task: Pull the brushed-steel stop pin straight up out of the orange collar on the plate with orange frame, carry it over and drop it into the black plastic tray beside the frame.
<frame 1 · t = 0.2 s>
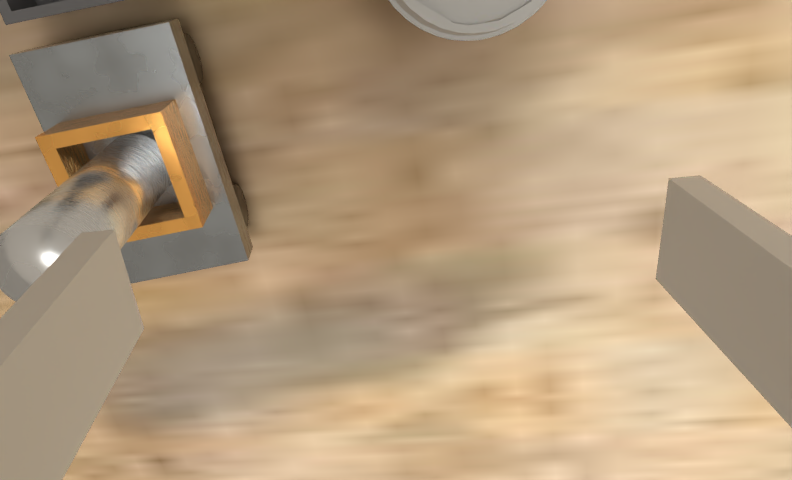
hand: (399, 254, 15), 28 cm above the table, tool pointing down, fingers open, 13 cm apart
plate with orange frame: (162, 142, 41), on the table
stop pin: (139, 166, 37), point 5 cm above the table, touching plate with orange frame
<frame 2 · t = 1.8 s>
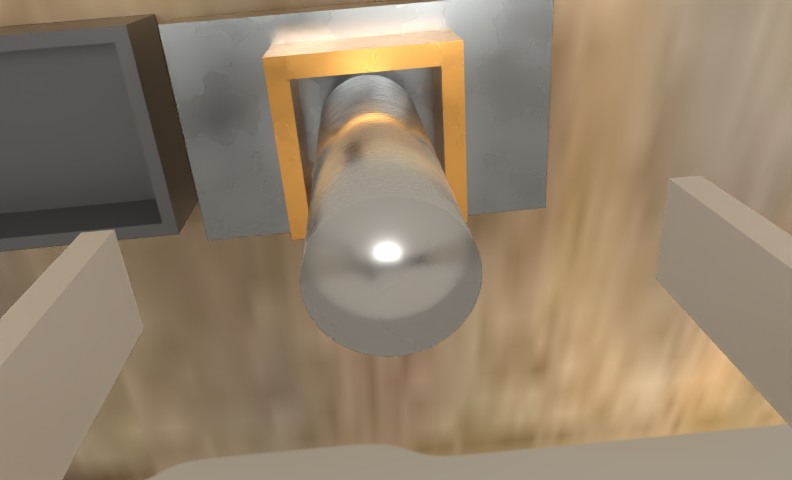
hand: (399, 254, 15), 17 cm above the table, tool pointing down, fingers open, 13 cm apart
pin tray: (7, 129, 29), on the table
plate with orange frame: (365, 96, 30), on the table
stop pin: (369, 124, 25), point 5 cm above the table, touching plate with orange frame
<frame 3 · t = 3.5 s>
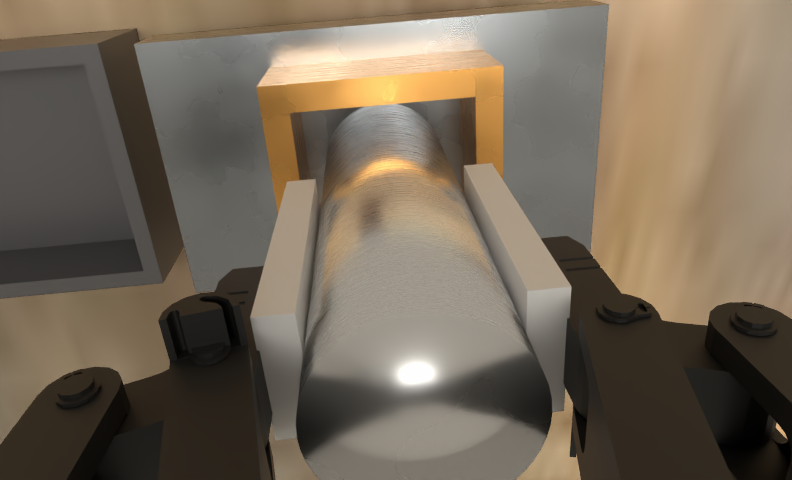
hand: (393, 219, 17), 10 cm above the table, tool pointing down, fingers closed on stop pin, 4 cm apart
plate with orange frame: (379, 122, 26), on the table
stop pin: (384, 160, 21), point 5 cm above the table, touching gripper, plate with orange frame
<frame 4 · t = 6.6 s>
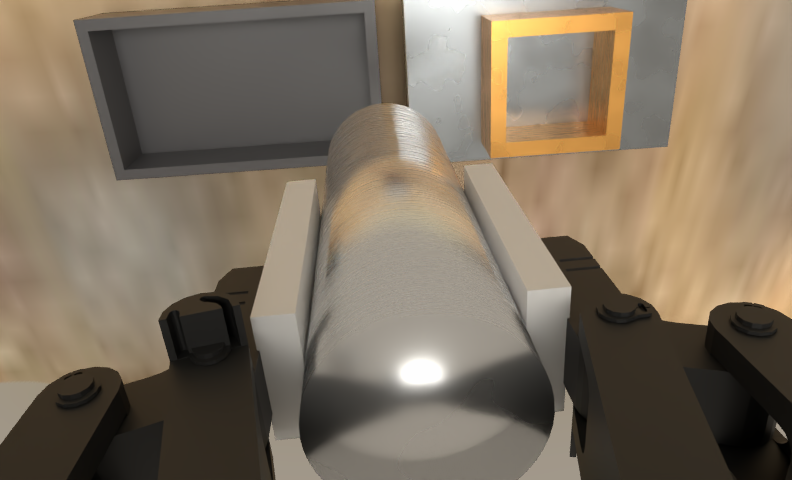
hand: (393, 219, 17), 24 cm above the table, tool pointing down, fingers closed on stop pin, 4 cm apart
pin tray: (250, 81, 38), on the table
plate with orange frame: (522, 62, 38), on the table
stop pin: (385, 160, 21), point 19 cm above the table, touching gripper
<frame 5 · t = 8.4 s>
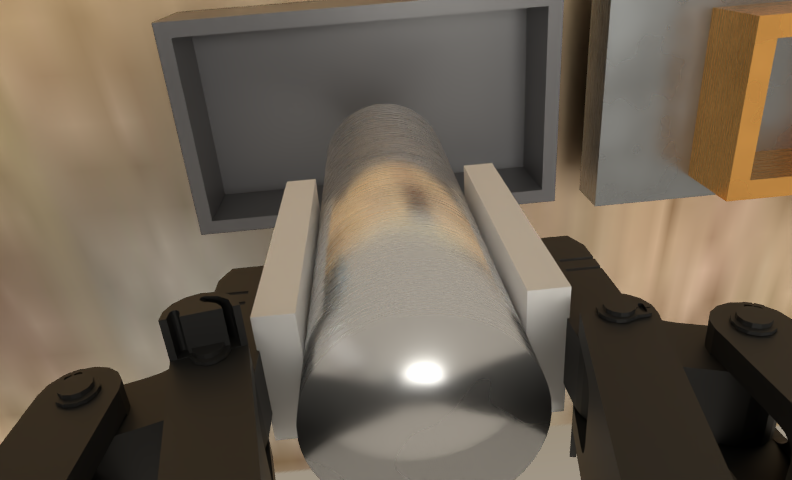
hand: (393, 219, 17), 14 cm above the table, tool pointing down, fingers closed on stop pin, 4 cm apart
pin tray: (367, 97, 29), on the table
plate with orange frame: (715, 66, 30), on the table
stop pin: (384, 161, 21), point 9 cm above the table, touching gripper
when the fingers open (7 cm above the table, at t = 9.8 s): stop pin drops 1 cm, resting on pin tray.
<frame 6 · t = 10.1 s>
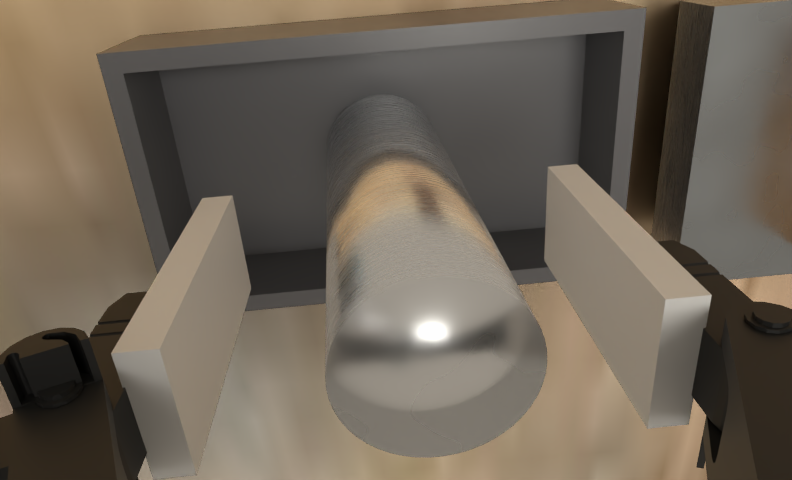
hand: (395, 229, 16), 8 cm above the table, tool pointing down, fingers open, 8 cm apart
pin tray: (381, 141, 23), on the table
stop pin: (381, 148, 23), point 1 cm above the table, touching pin tray
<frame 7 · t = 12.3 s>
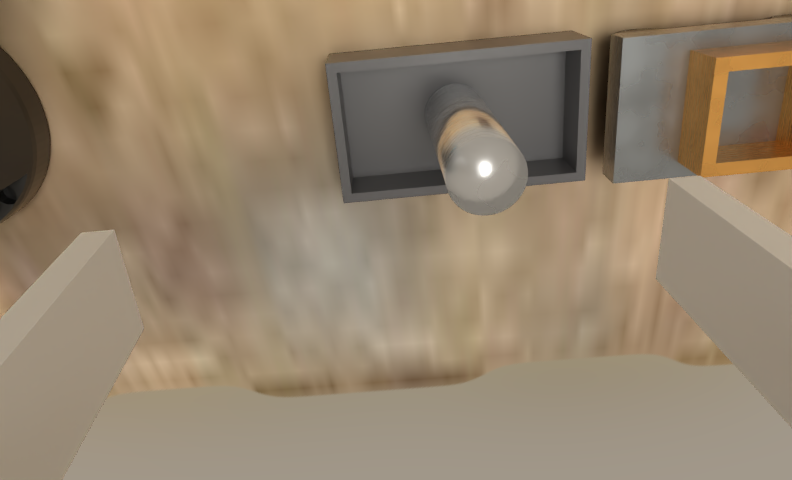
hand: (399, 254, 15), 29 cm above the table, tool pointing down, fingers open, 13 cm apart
pin tray: (453, 110, 42), on the table
plate with orange frame: (700, 86, 42), on the table
stop pin: (454, 113, 41), point 1 cm above the table, touching pin tray
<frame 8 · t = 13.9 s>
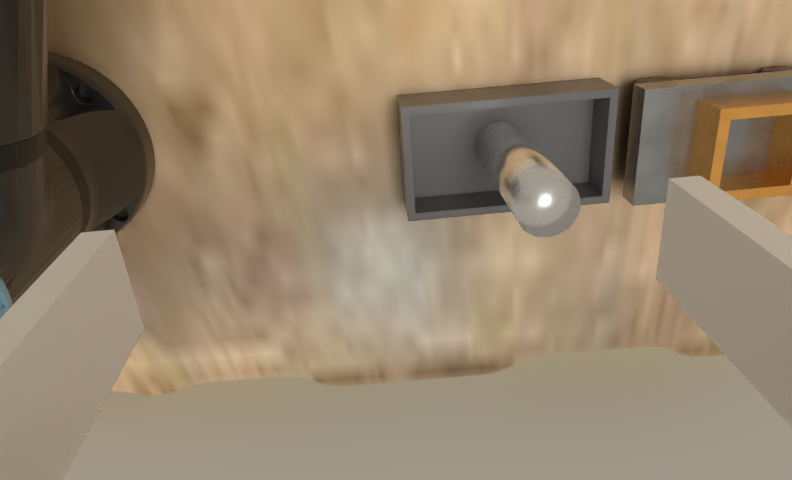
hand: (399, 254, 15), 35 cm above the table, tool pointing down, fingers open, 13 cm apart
pin tray: (498, 142, 50), on the table
plate with orange frame: (702, 123, 50), on the table
stop pin: (500, 145, 49), point 1 cm above the table, touching pin tray
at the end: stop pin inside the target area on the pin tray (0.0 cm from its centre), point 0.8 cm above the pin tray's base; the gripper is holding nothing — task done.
